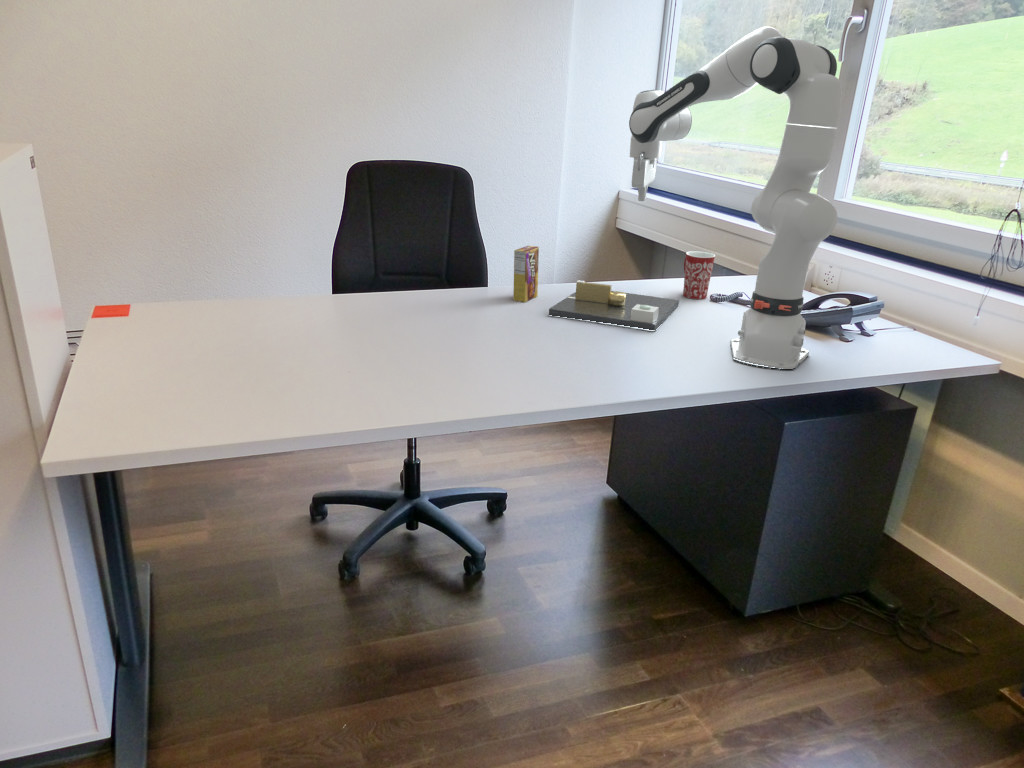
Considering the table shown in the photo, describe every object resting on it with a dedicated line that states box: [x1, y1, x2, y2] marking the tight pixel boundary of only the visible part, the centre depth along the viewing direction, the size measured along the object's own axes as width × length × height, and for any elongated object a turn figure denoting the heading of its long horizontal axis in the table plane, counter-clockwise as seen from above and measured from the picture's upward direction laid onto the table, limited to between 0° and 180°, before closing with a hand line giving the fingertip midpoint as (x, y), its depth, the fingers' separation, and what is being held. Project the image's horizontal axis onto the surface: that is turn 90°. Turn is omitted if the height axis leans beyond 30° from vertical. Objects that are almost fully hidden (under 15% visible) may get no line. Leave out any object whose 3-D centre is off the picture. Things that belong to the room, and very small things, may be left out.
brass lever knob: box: [575, 280, 627, 306], centre depth 214 cm, size 14×5×5 cm, turn 71°
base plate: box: [548, 291, 680, 331], centre depth 213 cm, size 30×30×6 cm
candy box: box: [512, 245, 540, 303], centre depth 221 cm, size 9×4×15 cm, turn 152°
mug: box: [682, 250, 716, 300], centre depth 234 cm, size 13×9×14 cm
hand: (642, 200), depth 217 cm, fingers closed
